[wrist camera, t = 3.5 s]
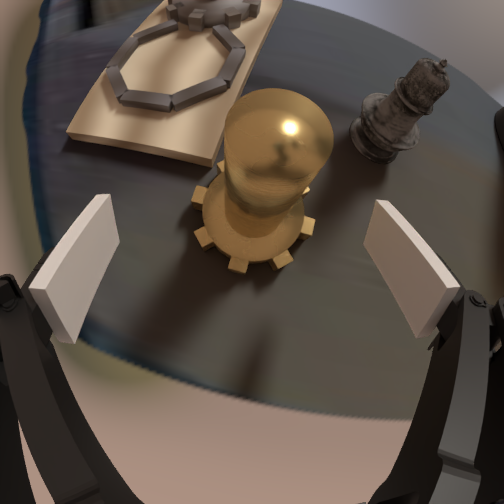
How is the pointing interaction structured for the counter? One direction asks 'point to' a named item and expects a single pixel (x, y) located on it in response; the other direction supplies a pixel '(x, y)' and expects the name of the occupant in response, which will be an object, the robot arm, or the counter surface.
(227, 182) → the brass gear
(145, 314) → the counter surface
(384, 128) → the stone chess piece
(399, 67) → the counter surface
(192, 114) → the gear board
